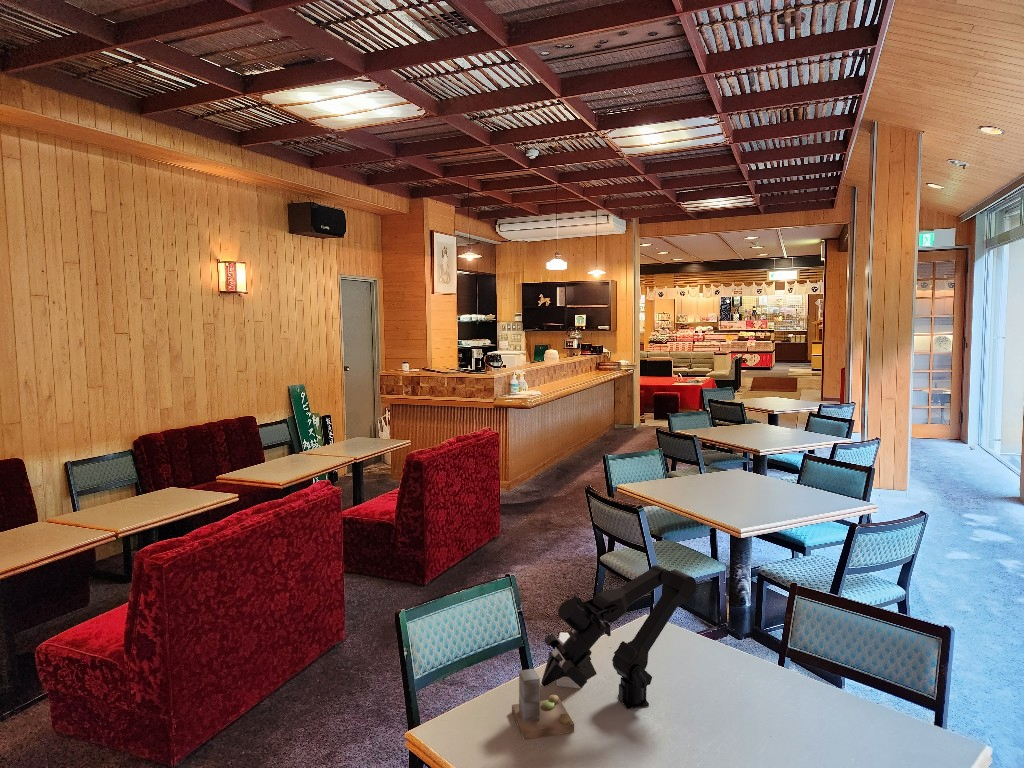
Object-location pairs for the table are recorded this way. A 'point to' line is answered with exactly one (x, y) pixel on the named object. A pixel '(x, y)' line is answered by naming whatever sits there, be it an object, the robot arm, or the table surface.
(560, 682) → the supplement box
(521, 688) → the wooden base with pillar
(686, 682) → the table surface
